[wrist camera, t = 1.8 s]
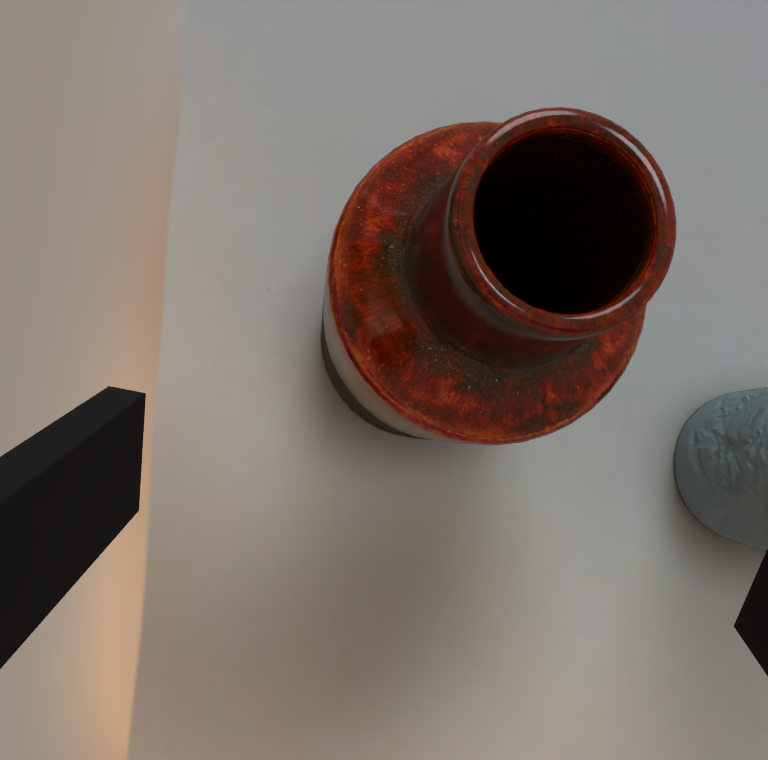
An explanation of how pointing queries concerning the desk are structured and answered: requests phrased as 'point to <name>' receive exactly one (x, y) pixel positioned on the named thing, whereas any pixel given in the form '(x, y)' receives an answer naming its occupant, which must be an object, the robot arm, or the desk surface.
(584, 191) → the vase
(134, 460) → the robot arm
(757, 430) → the grey-blue ceramic planter
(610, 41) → the desk surface
